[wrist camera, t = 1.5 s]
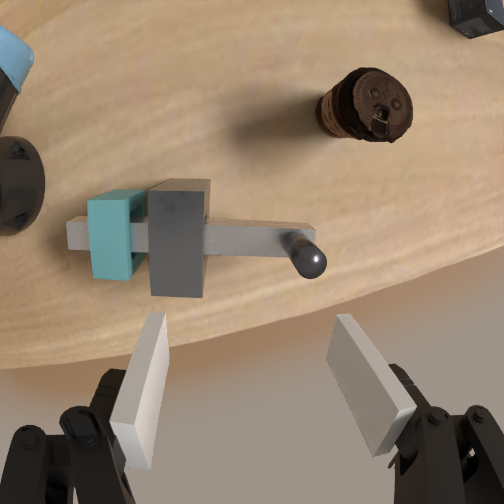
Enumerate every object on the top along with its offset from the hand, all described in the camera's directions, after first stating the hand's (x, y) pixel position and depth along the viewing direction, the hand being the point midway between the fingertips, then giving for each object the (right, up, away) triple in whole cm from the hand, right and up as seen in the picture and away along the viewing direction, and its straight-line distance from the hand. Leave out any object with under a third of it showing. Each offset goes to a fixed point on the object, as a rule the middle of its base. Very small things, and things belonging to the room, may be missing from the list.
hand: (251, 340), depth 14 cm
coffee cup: (+11, +22, +23) cm, 34 cm away
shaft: (-7, +6, +18) cm, 20 cm away
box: (+38, +47, +17) cm, 63 cm away
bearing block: (-8, +9, +25) cm, 28 cm away
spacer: (-15, +8, +21) cm, 26 cm away
